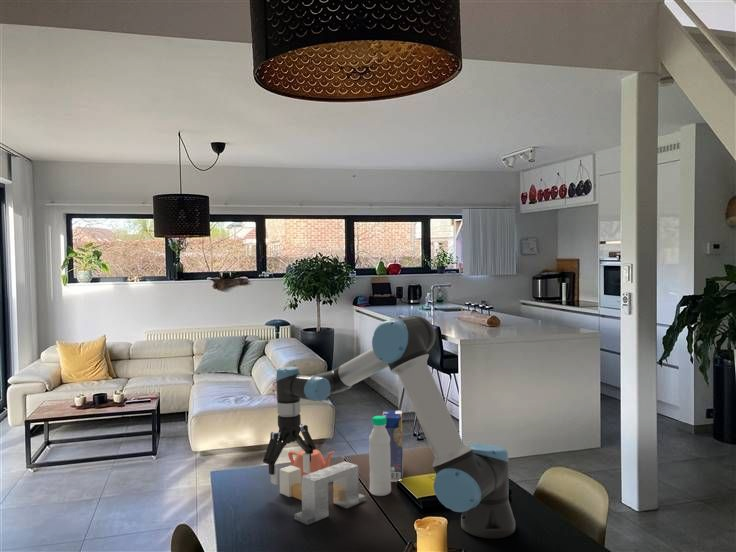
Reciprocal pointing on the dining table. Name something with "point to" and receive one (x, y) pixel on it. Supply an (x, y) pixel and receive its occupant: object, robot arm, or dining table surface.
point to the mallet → (291, 482)
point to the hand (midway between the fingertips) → (290, 478)
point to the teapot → (316, 460)
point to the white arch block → (317, 491)
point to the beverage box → (395, 442)
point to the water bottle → (379, 458)
